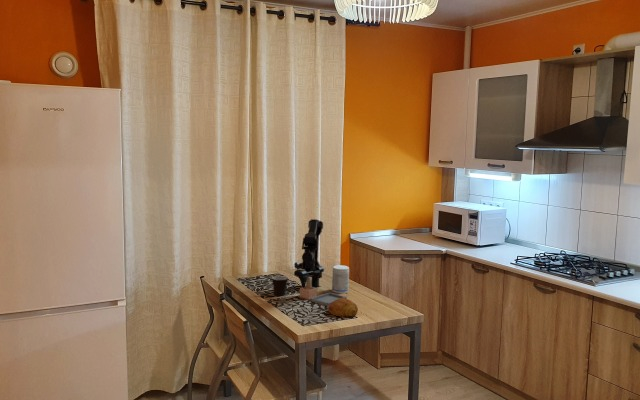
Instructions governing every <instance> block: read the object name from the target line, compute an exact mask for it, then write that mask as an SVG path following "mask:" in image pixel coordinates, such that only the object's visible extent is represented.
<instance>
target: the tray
mask: <svg viewBox="0 0 640 400" xmlns="http://www.w3.org/2000/svg"><path fill="white" fill-rule="evenodd" d="M339 298H345V299H348V298H347V296H346V295H345V296H344V295H341V294H339V293H335V292H334V293H333V292H327V293H322V294H319V295H317V296H316V297H313V298H311V299H310V302H312V303H315V304H319V305H322V306H324V307H325V306H326V307H328V306H329V305H330V303H331V302H333V301H335V300H337V299H339Z"/></svg>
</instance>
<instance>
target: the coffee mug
mask: <svg viewBox="0 0 640 400" xmlns="http://www.w3.org/2000/svg"><path fill="white" fill-rule="evenodd" d="M288 280H289V279H288V276H284V275H275V276H272V277H271V281H272V282H271V283H272V292H273V296H275V297H284V296H286V292H287V285H288Z"/></svg>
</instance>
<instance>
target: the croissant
mask: <svg viewBox="0 0 640 400" xmlns="http://www.w3.org/2000/svg"><path fill="white" fill-rule="evenodd" d="M326 307H327V308H326V309H327V311H328V313H329V314H331V315H333V316H335V315H336V316H335V317H339V318H346V317H353V316H356V315H357V314H358V310H359V309H358V306H357V304H356V303H355V302H354V301H352V300H351V299H348V298H347V299H345V298H339V299H337V300H335V301H333V302H331V303H330V305H329V306H326Z"/></svg>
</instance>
